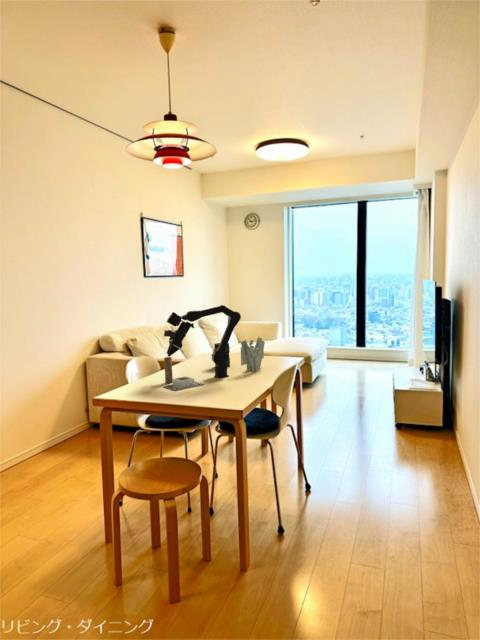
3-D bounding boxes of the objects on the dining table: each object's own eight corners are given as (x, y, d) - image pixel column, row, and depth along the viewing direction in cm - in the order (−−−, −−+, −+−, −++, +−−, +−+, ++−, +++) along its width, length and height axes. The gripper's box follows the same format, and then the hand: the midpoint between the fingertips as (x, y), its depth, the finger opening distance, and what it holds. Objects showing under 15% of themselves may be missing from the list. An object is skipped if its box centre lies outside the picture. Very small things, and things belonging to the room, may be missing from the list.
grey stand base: (191, 381, 246) (190, 374, 246) (203, 384, 237) (203, 377, 236) (163, 387, 234) (162, 379, 234) (175, 391, 225) (174, 383, 225)
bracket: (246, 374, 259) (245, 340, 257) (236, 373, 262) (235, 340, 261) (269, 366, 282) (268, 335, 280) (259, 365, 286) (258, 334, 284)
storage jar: (212, 368, 282) (211, 344, 281) (217, 365, 292) (217, 342, 290) (227, 368, 280) (226, 345, 278) (232, 365, 289) (231, 342, 288)
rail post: (171, 381, 247) (170, 356, 246) (173, 383, 244) (172, 357, 242) (164, 382, 246) (163, 357, 245) (166, 383, 242) (165, 358, 241)
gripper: (168, 322, 256) (154, 345, 255) (170, 325, 238) (155, 350, 237) (185, 332, 259) (171, 355, 258) (188, 335, 240) (173, 360, 240)
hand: (167, 355), depth 248 cm, fingers open, 9 cm apart
